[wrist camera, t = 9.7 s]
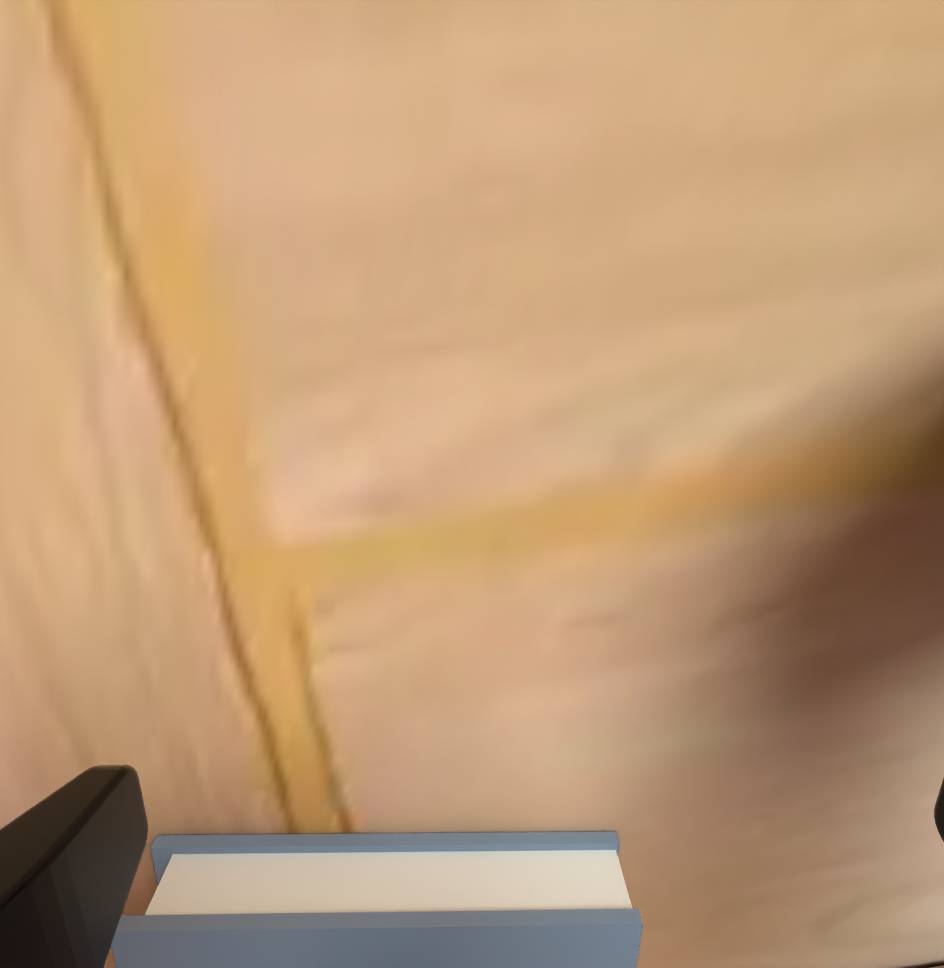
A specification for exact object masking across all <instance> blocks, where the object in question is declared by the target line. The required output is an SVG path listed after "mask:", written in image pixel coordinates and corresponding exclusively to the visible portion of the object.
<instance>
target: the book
mask: <svg viewBox="0 0 944 968" xmlns="http://www.w3.org/2000/svg"><path fill="white" fill-rule="evenodd" d="M619 844H620V843H619V840H618V836H617V833H616V831H600V832H481V833H361V834H242V835H157V836H156V838H155V840H154V842H153V844H152V846H151V852H152V858H153V863H154V869H155V874H156V880H157V886H158V887H157V889H156V891H155V894H154V896H153V898H152V900H151V902H150V904H149V906H148V909H147V911H146V913H145V915H121V918H120V921H119V924H118V927H117V929H116V932H115V935H114V938H113V941H112V944H111V948H112V952H113V957H114V961H115V966H116V968H636V967H637V961H638V954H639V948H640V941H641V935H642V928H643V922H642V919H641V915H640V912H639V909H632V905H631V902H630V898H629V895H628V891H627V888H626V884H625V880H624V877H623V873H622V870H621V866H620V863H619V859H618V852H619Z"/></svg>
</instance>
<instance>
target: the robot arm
mask: <svg viewBox="0 0 944 968" xmlns="http://www.w3.org/2000/svg"><path fill="white" fill-rule="evenodd" d="M934 818H935V823H936V826H937V829H938V832H939V834H940V836H941V838H942V840H943V842H944V778H943V782H942V785H941V788H940V791H939V795H938V798H937V801H936V804H935V809H934ZM147 833H148V823H147V817H146V812H145V807H144V802H143V797H142V792H141V787H140V783H139V778H138V775H137V772H136V770H135V769H134V768H133V767H131V766H128V765H99V766H94V767H91V768H89V769H88V770H86V771H84V772H83V773H81V774H80V775H78V776H77V777H76V778H74V779H73V780H71V781H70V782H68V783H67V784H65V785H64V786H63V787H61V788H60V789H58V790H57V791H55V792H54V793H52V794H51V795H49V796H48V797H47V798H45V799H44V800H42V801H41V802H39V803H38V804H36V805H35V806H34V807H32V808H31V809H29V810H28V811H26V812H25V813H23V814H22V815H20V816H19V817H18V818H16V819H15V820H13V821H12V822H10V823H9V824H7V825H6V826H5V827H3V828H2V829H0V968H103V967H104V964H105V961H106V958H107V955H108V953H109V950H110V947H111V944H112V941H113V938H114V935H115V932H116V929H117V927H118V924H119V921H120V918H121V915H122V912H123V909H124V906H125V903H126V901H127V898H128V895H129V892H130V889H131V886H132V883H133V880H134V877H135V875H136V872H137V869H138V866H139V863H140V860H141V857H142V854H143V851H144V848H145V845H146V840H147Z"/></svg>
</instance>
